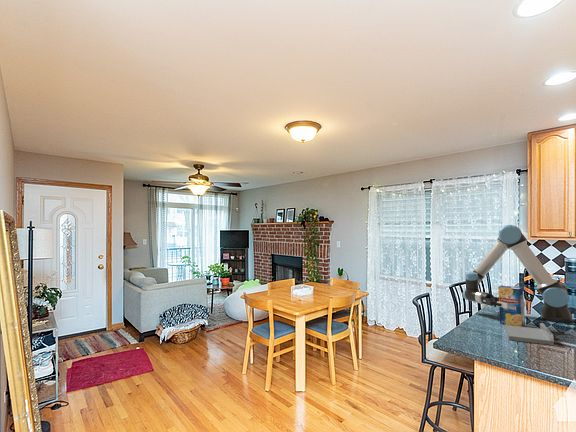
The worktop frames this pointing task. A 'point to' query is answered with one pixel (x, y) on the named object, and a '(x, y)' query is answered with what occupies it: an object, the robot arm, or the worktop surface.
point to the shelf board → (527, 335)
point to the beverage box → (512, 306)
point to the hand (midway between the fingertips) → (516, 305)
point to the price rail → (546, 332)
